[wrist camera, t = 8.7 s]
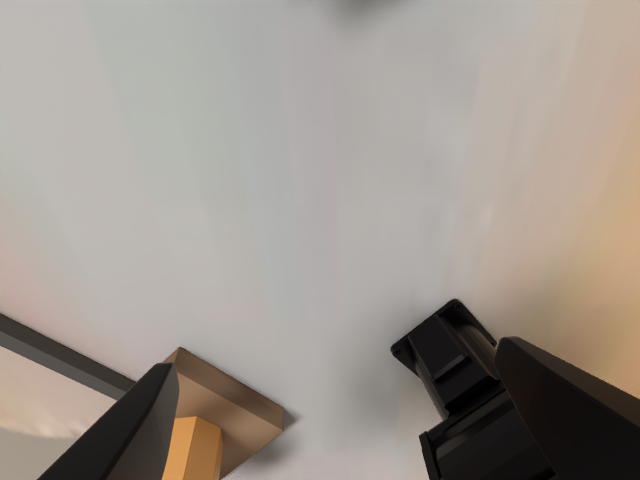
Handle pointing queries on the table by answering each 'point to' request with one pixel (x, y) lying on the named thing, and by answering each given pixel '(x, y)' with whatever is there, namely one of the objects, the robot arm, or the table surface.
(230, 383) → the peg block
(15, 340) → the bar
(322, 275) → the table surface
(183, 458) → the orange domed octagonal post
